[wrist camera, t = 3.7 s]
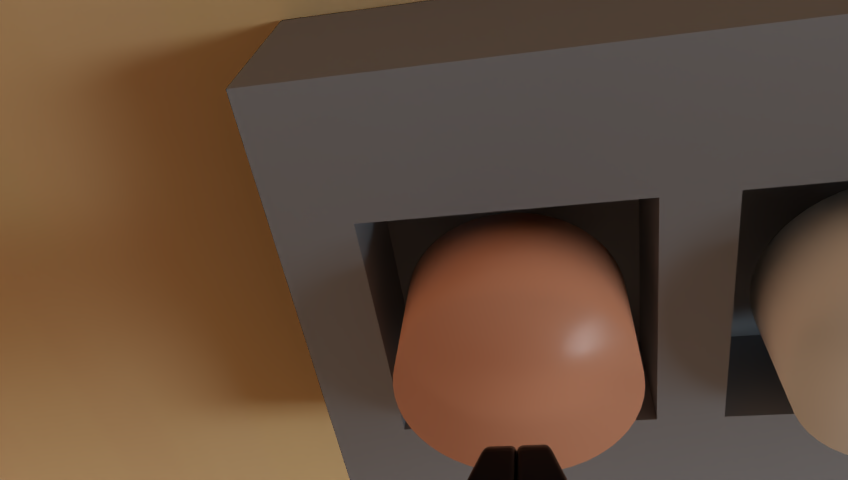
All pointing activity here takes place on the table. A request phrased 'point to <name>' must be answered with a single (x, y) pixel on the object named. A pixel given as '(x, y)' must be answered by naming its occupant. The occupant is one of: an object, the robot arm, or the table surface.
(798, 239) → the cream button
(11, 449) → the table surface
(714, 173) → the button panel
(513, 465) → the robot arm
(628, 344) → the terracotta button
